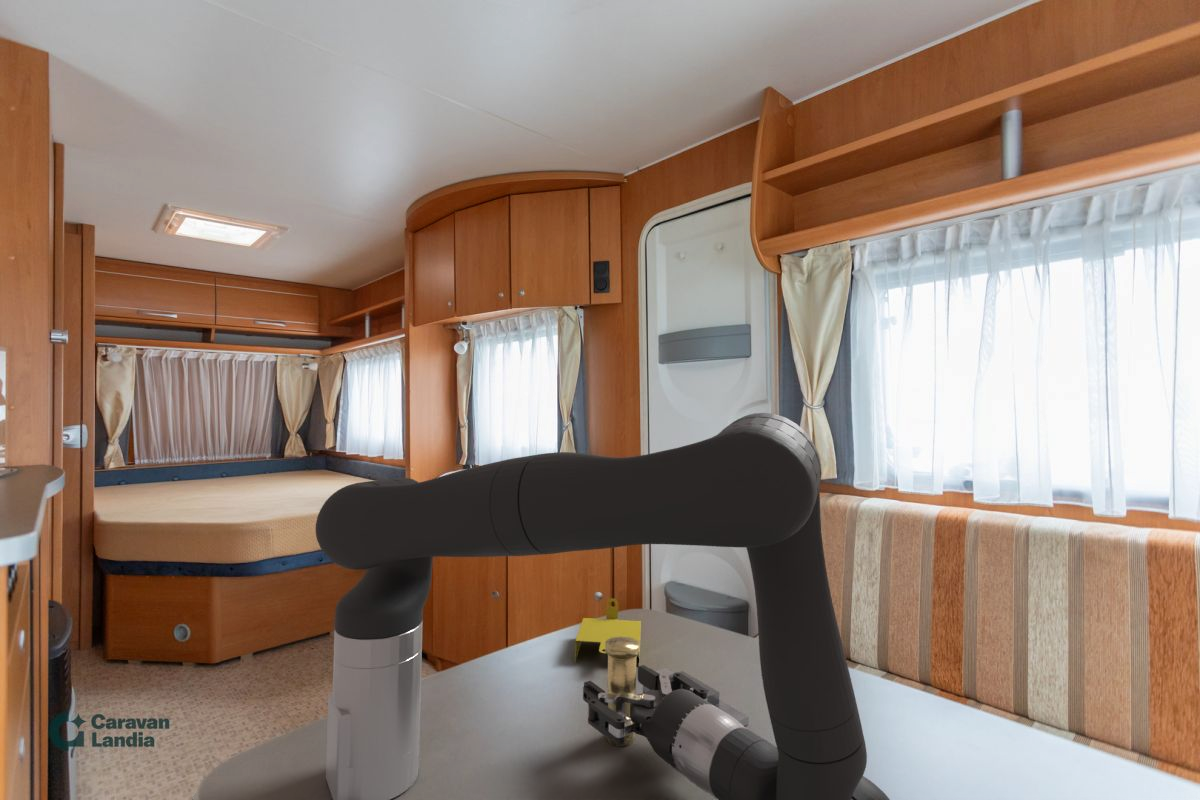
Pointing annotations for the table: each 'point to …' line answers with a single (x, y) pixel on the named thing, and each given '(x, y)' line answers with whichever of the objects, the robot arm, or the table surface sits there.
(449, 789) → the table surface
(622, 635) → the bracket
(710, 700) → the grey socket base plate
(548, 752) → the table surface
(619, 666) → the hinge pin
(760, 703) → the table surface
